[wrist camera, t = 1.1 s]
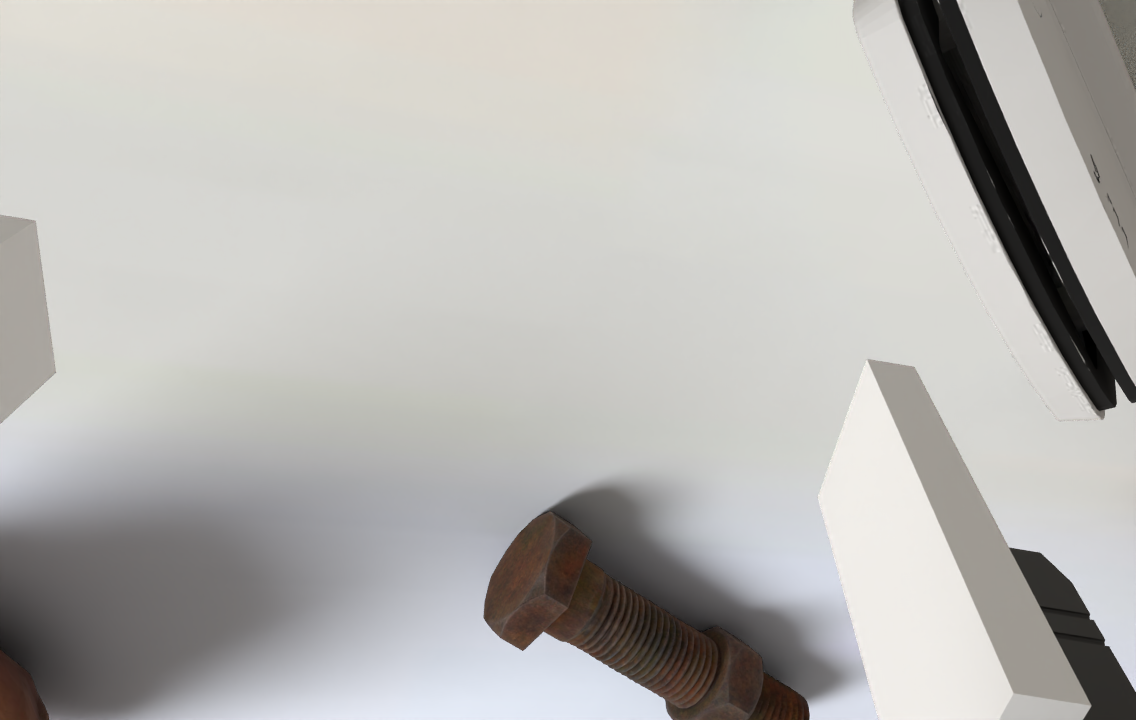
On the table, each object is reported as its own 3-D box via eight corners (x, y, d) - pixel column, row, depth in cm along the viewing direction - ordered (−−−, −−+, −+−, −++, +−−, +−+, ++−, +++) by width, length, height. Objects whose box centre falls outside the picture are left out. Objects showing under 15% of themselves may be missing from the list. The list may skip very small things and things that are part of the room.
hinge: (1207, 264, 33) (1264, 456, 26) (1062, 307, 36) (1078, 492, 29) (1020, -192, 27) (1027, -110, 20) (865, -98, 30) (820, 5, 23)
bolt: (764, 673, 46) (515, 519, 42) (841, 662, 42) (574, 491, 38) (736, 794, 43) (463, 640, 39) (817, 796, 39) (522, 624, 35)
